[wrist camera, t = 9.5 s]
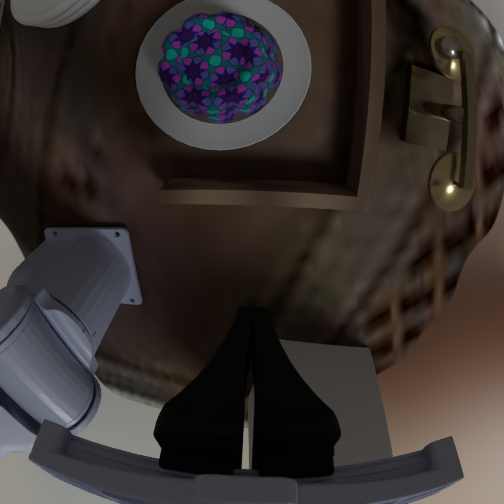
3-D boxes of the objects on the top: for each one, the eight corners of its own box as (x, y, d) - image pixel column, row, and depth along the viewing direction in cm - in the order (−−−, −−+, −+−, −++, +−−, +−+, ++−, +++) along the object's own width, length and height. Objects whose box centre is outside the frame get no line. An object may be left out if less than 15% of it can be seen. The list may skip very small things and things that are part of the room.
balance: (433, 189, 20) (479, 223, 15) (393, 183, 20) (436, 218, 15) (448, 41, 14) (502, 36, 8) (407, 25, 14) (457, 10, 8)
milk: (329, 402, 36) (350, 574, 13) (248, 397, 35) (242, 586, 12) (369, 347, 30) (421, 568, 7) (270, 338, 29) (275, 606, 6)
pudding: (334, 28, 15) (357, 10, 11) (270, 171, 21) (275, 195, 16) (174, -19, 13) (151, -46, 9) (120, 123, 19) (84, 134, 14)
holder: (171, 190, 21) (160, 204, 19) (173, -33, 12) (162, -47, 10) (356, 197, 21) (368, 211, 19) (369, -22, 12) (383, -34, 10)
